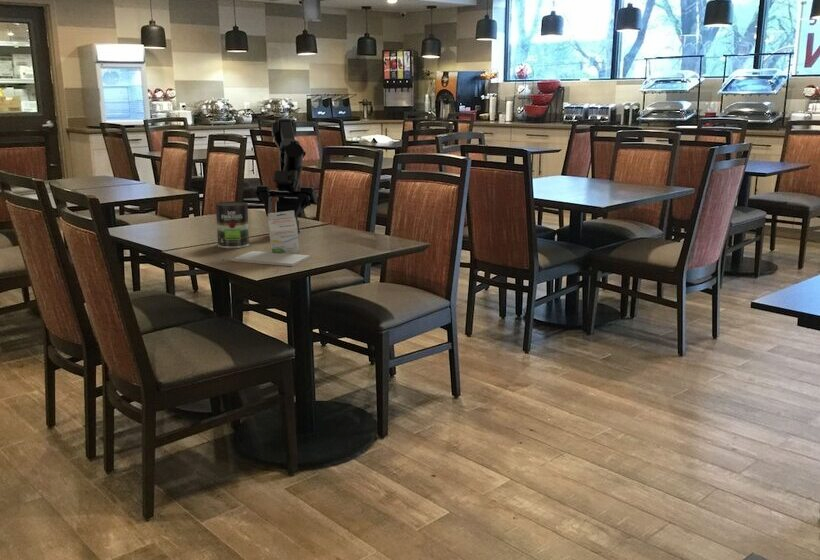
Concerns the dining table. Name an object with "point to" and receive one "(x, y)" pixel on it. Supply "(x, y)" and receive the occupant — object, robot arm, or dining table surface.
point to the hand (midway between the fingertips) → (280, 216)
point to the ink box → (283, 232)
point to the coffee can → (232, 224)
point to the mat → (271, 258)
